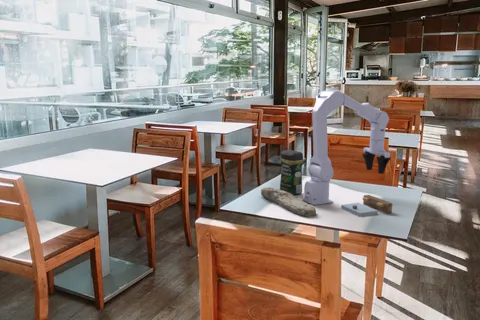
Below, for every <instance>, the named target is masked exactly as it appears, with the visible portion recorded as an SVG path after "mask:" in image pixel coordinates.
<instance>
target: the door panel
mask: <svg viewBox="0 0 480 320" xmlns="http://www.w3.org/2000/svg"><path fill="white" fill-rule="evenodd" d="M341 209H342V210H345V211H347V212H349V213H351V214H354V215H355V216H357V215H358V217H360V216H361V217H366V216H373V215H378V211H379V210H377V209H374V208H372V207H369V206H367V205H364V204H363V203H360V202H352V203H347V204H341Z"/></svg>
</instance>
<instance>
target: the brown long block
mask: <svg viewBox="0 0 480 320" xmlns="http://www.w3.org/2000/svg"><path fill="white" fill-rule="evenodd" d="M362 200H363V203H362V204H363V205H366V206H368V207H370V208H373V209H375V210H378V211H379V212H381V213H384V214H391V213H393V212H392V211H393V203H392V202H391V201H390V202H389V201H386V200H384V199H382V198H378V197H376V196H373V195H371V194H365V195H363V197H362Z"/></svg>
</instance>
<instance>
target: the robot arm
mask: <svg viewBox="0 0 480 320" xmlns="http://www.w3.org/2000/svg"><path fill="white" fill-rule="evenodd" d="M342 106H345V107H347V108H350V109H351V110H354V111H356V113H357V116H358V117H361V118H363V119H364V120H366V121H368V122H369V124H370V134H369V135H370V137H369V147H363V153H362V154H361V155H362V157H363V159H364V161H365V166H366V171H371V170H373V164H374V160H375V157H376V162H377V165H378V166H377V168H378V169H377V170H378V174H381V175H383V174H384V173H385V170H386V169H387V168H386V167H387V165H388V164H389V161H390V160H391V152H388V151H386V149H385V139H386V137H385V135H386V128H387V125H388V123H389V121H390V117H389V114H388V113H387V112H386V111H383V110H380V108H379V107H374V106H372V105H371V103H370V102H363V103H361V102H359V101H357V100H355V99H354V98H352V97H350V96H349V95H347V94H346V93H345V92H341V91H339V90H337V91H334V90H332V91H331V90H321V91H320V92H319V93H318V94H317V95H316V96H315V103H314V106H313V109H312V113H311V114H312V115H311V117H312V143H313V144H312V145H313V146H312V149H313V155H312V157H311V158H310V159H309V165H308V169H307V172H308V174H309V175H310V179H309V180H307V181H305V183H304V186H303V188H304V190H303V191H304V192H303V199H302V201H304V202H306V203H307V204H308V203H309V205H312V206H316V205H321V204H322V205H323V204H329V203H330V204H331V203H334V200H331V199H330V182H331V179H332V178H333V177H334V173H335V172H334V168H333V166H332V160H331V159H330V157H329V156H328V154H329V152H328V149H329V148H328V116H329V115H330V114H331V113H332V112H334V111H335V110H338V109H340V108H341V107H342Z"/></svg>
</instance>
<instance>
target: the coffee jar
mask: <svg viewBox="0 0 480 320" xmlns="http://www.w3.org/2000/svg"><path fill="white" fill-rule="evenodd" d="M279 160H280V163H281V165H280V167H281V169H280V170H281V171H280V182H279V190H283V191H286V192H289V193H291V194H292V195H293V196H296V195H297V196H298V195H300V194H301V193H303V174H302V173H303V163H304V154H303V153H302V152H301V151H296V150H292V149H285V150H284V149H283V150H282V151H281V152H280V159H279Z"/></svg>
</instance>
